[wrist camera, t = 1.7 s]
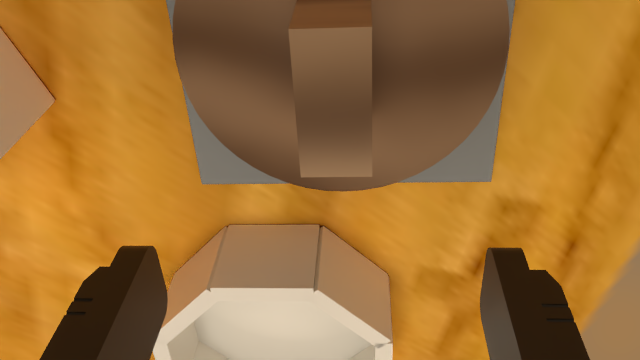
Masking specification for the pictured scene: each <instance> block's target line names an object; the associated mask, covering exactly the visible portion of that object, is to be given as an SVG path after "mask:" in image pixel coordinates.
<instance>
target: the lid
mask: <svg viewBox="0 0 640 360" xmlns="http://www.w3.org/2000/svg"><path fill="white" fill-rule="evenodd" d="M509 34H510V26H509V13H508V5H507V1H506V0H175V6H174V13H173V45H174V52H175V60H176V63H177V67H178V71H179V75H180V78H181V81H182V83H183V86H184V88H185V91H186V93H187V96H188V98H189V100H190V101H191V103H192V105H193V107H194V109H195V110H196V112H197V114H198V115H199V117H200V118H201V119H202V121H203V122H204V123H205V125H206V126H207V128H208V129H209V130H210V131H211V132H212V133H213V135H214V136H215V137H216V138H217V139H218V140H219V141H220V142H221V143H222V144H223V145H224V146H225V147H226V148H228V149H229V150H230V151H231V152H232V153H234V154H235V155H236V156H237V157H239V158H240V159H242V160H243V161H245V162H246V163H248V164H249V165H251V166H252V167H254V168H256V169H258V170H259V171H261V172H263V173H265V174H267V175H269V176H271V177H274V178H277V179H279V180H282V181H284V182H287V183H290V184H294V185H298V186H302V187H305V188H312V189H318V190H325V191H357V190H366V189H372V188H378V187H382V186H386V185H389V184H393V183H396V182H400V181H402V180H405V179H407V178H409V177H412V176H414V175H417V174H419V173H420V172H422V171H424V170H426V169H428V168H430V167H431V166H433V165H435V164H436V163H438V162H439V161H440V160H442V159H443V158H445V157H446V156H447V155H449V154H450V153H451V152H452V151H453V150H455V149H456V148H457V147H458V146H459V145H460V144H461V143H462V142H463V141H464V140H465V139H466V138H467V137H468V136H469V135H470V134H471V132H472V131H473V130H474V129H475V128H476V127H477V125H478V124H479V122H480V121H481V119H482V118H483V116H484V115H485V113H486V112H487V110H488V109H489V107H490V105H491V103H492V101H493V99H494V97H495V95H496V93H497V91H498V88H499V85H500V82H501V79H502V77H503V74H504V70H505V65H506V60H507V55H508V50H509Z"/></svg>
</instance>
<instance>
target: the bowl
mask: <svg viewBox="0 0 640 360" xmlns="http://www.w3.org/2000/svg"><path fill="white" fill-rule="evenodd" d="M167 297H168V303H167V312H166V316H165V319H164V321H163V324H162V327H161V329H160V332H159V335H158V338H157V340H156V343H155V346H154V348H153V354H154V357H155V360H392V353H393V339H392V321H391V303H390V284H389V277H388V274H387V273H386V272H384V271H383V270H382V269H380V268H379V267H378V266H376V265H375V264H374V263H372V262H371V261H370V260H368V259H367V258H366V257H364V256H363V255H362V254H360V253H359V252H358V251H356V250H355V249H354V248H352V247H351V246H350V245H348V244H347V243H346V242H344V241H343V240H342V239H340V238H339V237H338V236H336V235H335V234H334V233H332V232H331V231H330V230H328V229H327V228H326V227H324V226H322V227H321V228H320V226H319V224H313V225H229V226H228V227H226V226H225V227H224V228H223V229H222V230H221V231H220V232H219V233H217V234H216V235H215V236H214V237H213V238H212V239H211V240H210V241H209V242H208V243H207V244H206V245H205V246H203V247H202V248H201V249H200V250H199V251H198V252H197V253H196V254H195V255H194V256H193V257H192V258H191V259H190V260H188V261H187V262H186V263H185V264H184V265H183V266H182V267H181V268H180V269H179V270H178V271H177V272H176V273H175V274H174V277H173V279H172V282H171V285H170V287H169V290H168V292H167Z"/></svg>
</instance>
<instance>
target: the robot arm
mask: <svg viewBox="0 0 640 360" xmlns="http://www.w3.org/2000/svg"><path fill="white" fill-rule="evenodd" d="M167 303H168V297H167V290H166V286H165V282H164V278H163V274H162V270H161V267H160V263H159V259H158V255H157V252H156V249H155V248H154V247H153V246H122V247H121V248H120V249H119V250H118V252H117V254H116V256H115V258H114V260H113V261H112V263H111V265H110V267H99V268H98V269H97V270H96V271H95V272H93V273H92V274H91V275H90V276H89V277H88V278H87V279H86V280H84V281H83V283H82V285H81V287H80V288H79V290H78V292H77V294H76V296H75V297H74V302H72V303H71V305H70V306H69V308H68V310H67V314H66V315H64V317H63V319H62V321H61V322H60V324H59V326H58V328H57V330H56V331H55V333H54V335H53V337H52V338H51V340H50V342H49V344H48V346H47V347H46V349H45V351H44V353H43V355H42V356H41V358H40V360H149V359H150V357H151V354H152V351H153V348H154V346H155V343H156V340H157V338H158V335H159V332H160V329H161V327H162V324H163V321H164V319H165V316H166V312H167ZM480 310H481V319H482V324H483V329H484V334H485V338H486V343H487V347H488V352H489V356H490V360H590V359H589V356H588V354H587V351H586V349H585V346H584V343H583V341H582V338H581V336H580V333H579V331H578V328H577V326H576V323H574V318H573V315H572V313H571V310H570V308H568V303H567V300H566V298H565V295H564V292H563V290H562V287H561V286H560V284H559V283H558V282H557V281H556V280H555V279H554V278H553V277H552V276H551V275H550V274H549V273H548V272H547V271H546V270H529V267H528V264H527V261H526V258H525V255H524V252H523V250H522V249H521V248H488V250H487V253H486V260H485V267H484V274H483V281H482V288H481V296H480Z"/></svg>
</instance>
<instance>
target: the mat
mask: <svg viewBox="0 0 640 360" xmlns="http://www.w3.org/2000/svg"><path fill="white" fill-rule="evenodd" d="M506 1H507V5H508V13H509V26H510V34H509V43H510V36H511V28H512V21H513V13H514V6H515V0H506ZM166 2H167V8H168V13H169V18H170V23H171V28H172V33H173V13H174V6H175V0H166ZM508 51H509V50H508ZM507 58H508V55H507ZM506 66H507V60H506V65H505V70H504V74H503V77H502V79H501V82H500V85H499V88H498V91H497V93H496V95H495V97H494V99H493V101H492V103H491V105H490V107H489V109H488V110H487V112H486V113H485V115H484V116H483V118H482V119H481V121H480V122H479V124H478V125H477V127H476V128H475V129H474V130H473V131H472V132H471V134H470V135H469V136H468V137H467V138H466V139H465V140H464V141H463V142H462V143H461V144H460V145H459V146H458V147H457V148H456V149H455V150H453V151H452V152H451V153H450V154H449V155H447V156H446V157H445V158H443V159H442V160H440V161H439V162H438V163H436V164H435V165H433V166H431V167H430V168H428V169H426V170H424V171H422V172H420V173H419V174H417V175H414V176H412V177H409V178H407V179H405V180H402V181H400V182H491V178H492V171H493V163H494V156H495V148H496V141H497V133H498V126H499V118H500V111H501V103H502V96H503V88H504V81H505V73H506ZM182 84H183V83H182ZM183 90H184V95H185V100H186V105H187V110H188V115H189V120H190V125H191V131H192V136H193V141H194V146H195V151H196V156H197V161H198V166H199V171H200V177H201V182H202V184H279V183H287V182H284V181H282V180H279V179H277V178H274V177H271V176H269V175H267V174H265V173H263V172H261V171H259V170H258V169H256V168H254V167H252V166H251V165H249V164H248V163H246V162H245V161H243V160H242V159H240V158H239V157H237V156H236V155H235V154H234V153H232V152H231V151H230V150H229V149H228V148H226V147H225V146H224V145H223V144H222V143H221V142H220V141H219V140H218V139H217V138H216V137H215V136H214V135H213V133H212V132H211V131H210V130H209V129H208V128H207V126H206V125H205V123H204V122H203V121H202V119H201V118H200V117H199V115H198V114H197V112H196V110H195V109H194V107H193V105H192V103H191V101H190V100H189V98H188V96H187V93H186V91H185V88H184V86H183Z"/></svg>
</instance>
